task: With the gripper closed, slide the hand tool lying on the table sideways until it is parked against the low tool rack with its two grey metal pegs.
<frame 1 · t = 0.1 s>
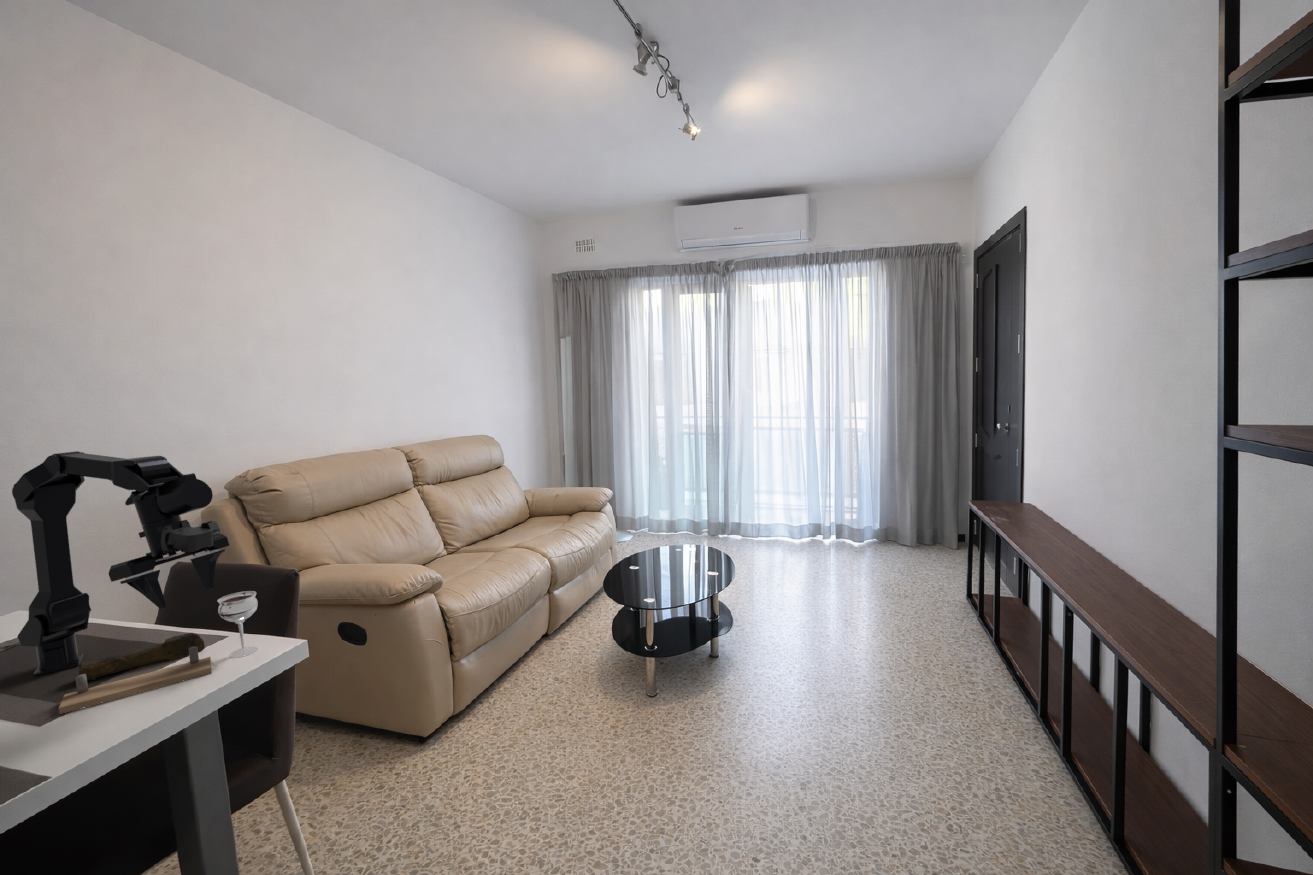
hand: (187, 598, 111), 15 cm above the table, tool pointing down, fingers open, 9 cm apart
tool rack: (141, 686, 109), on the table
wineglass: (243, 652, 122), on the table
hand tool: (146, 666, 119), on the table
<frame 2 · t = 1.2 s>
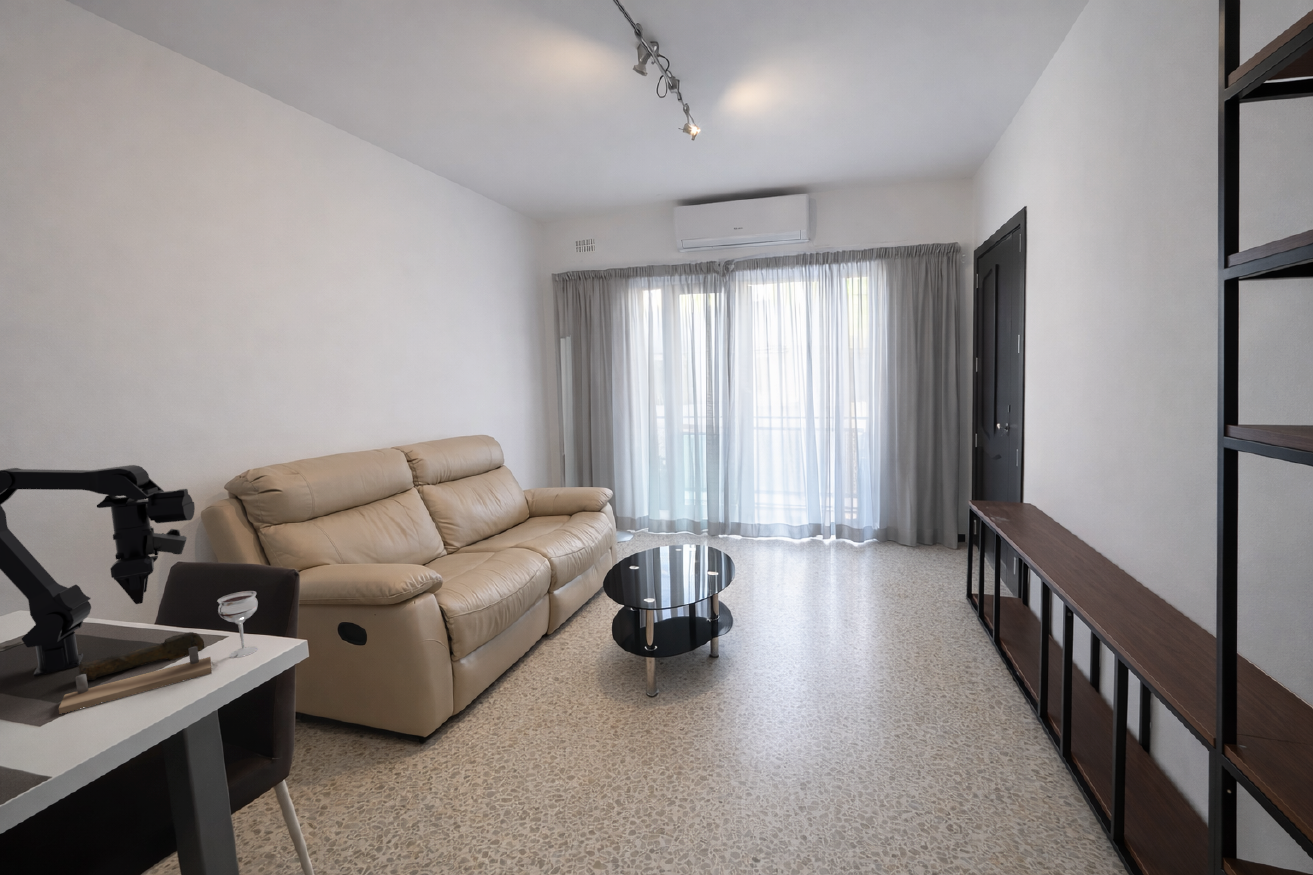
hand: (141, 597, 123), 12 cm above the table, tool pointing down, fingers open, 8 cm apart
nothing on the table moved.
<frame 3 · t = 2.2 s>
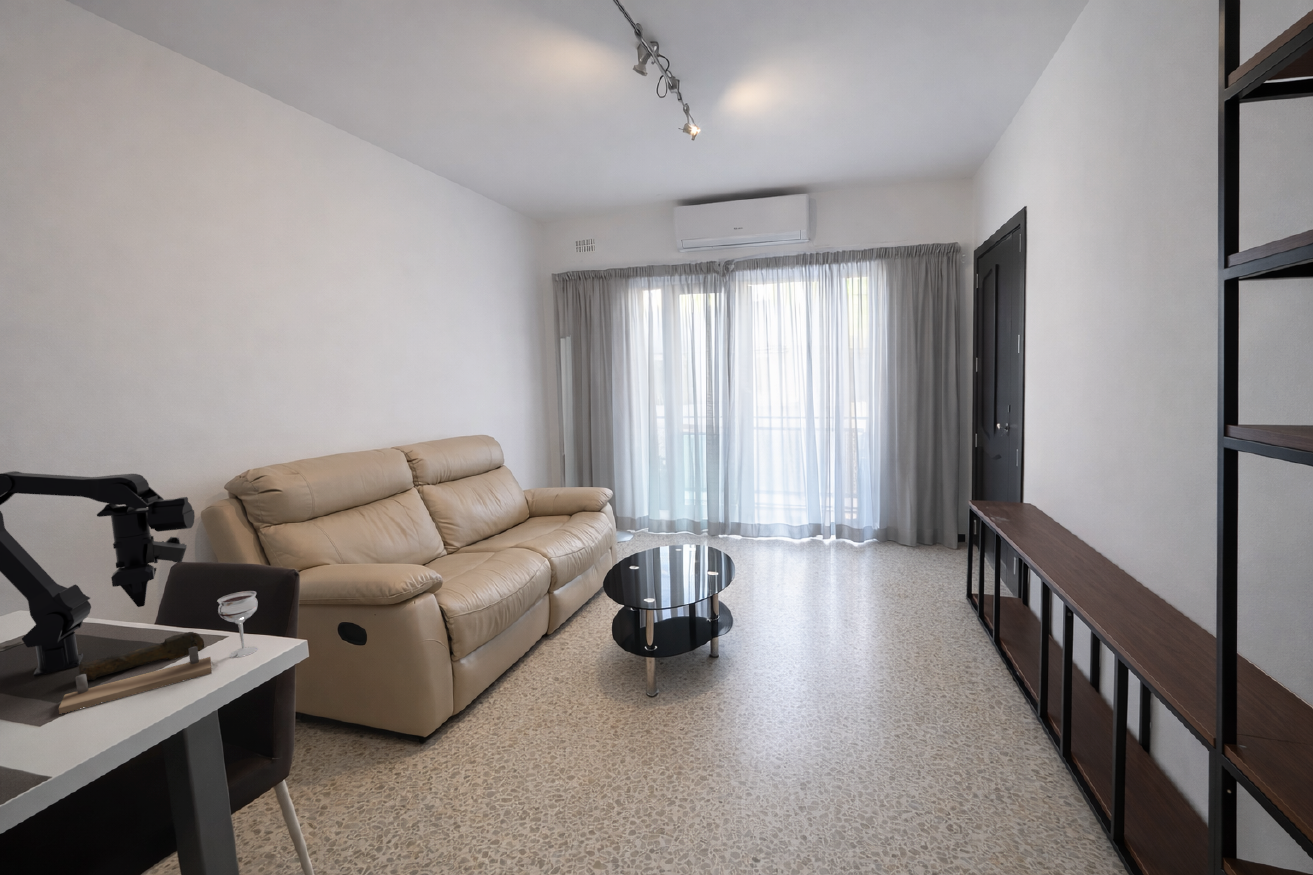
hand: (141, 606, 124), 10 cm above the table, tool pointing down, fingers closed
nothing on the table moved.
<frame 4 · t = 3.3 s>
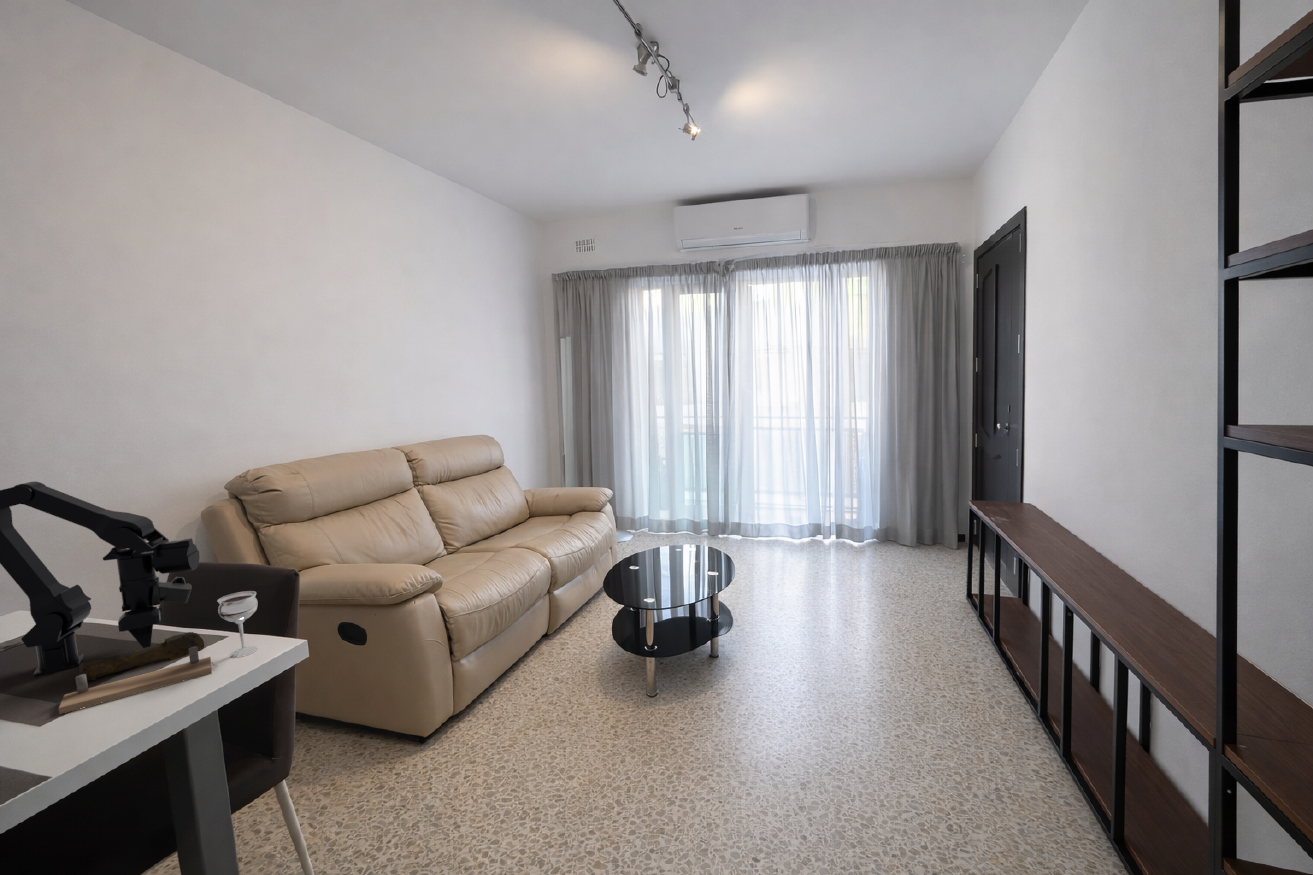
hand: (147, 647, 124), 1 cm above the table, tool pointing down, fingers closed
nothing on the table moved.
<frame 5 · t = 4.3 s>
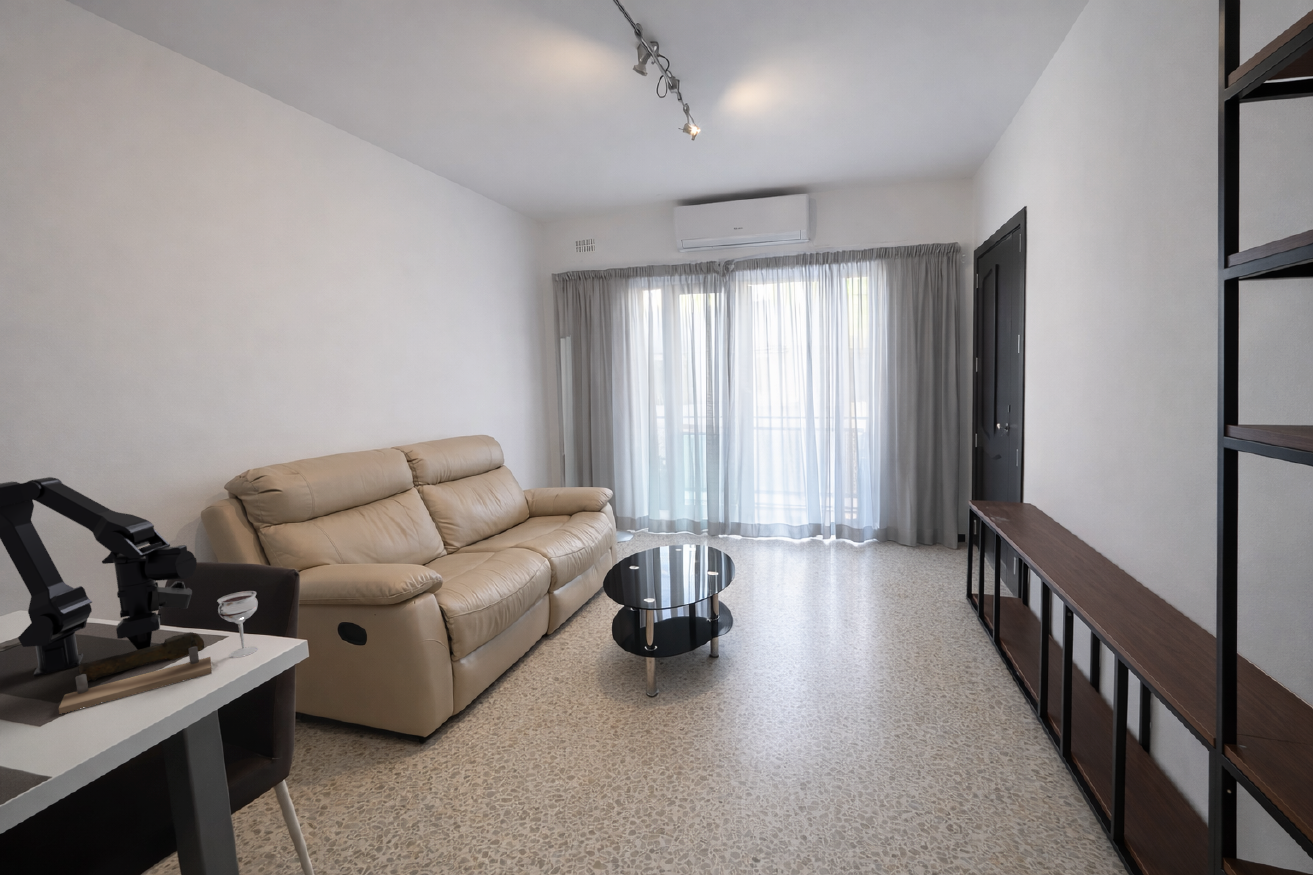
hand: (146, 654, 121), 1 cm above the table, tool pointing down, fingers closed
hand tool: (145, 666, 119), on the table, touching gripper
everything else where it was.
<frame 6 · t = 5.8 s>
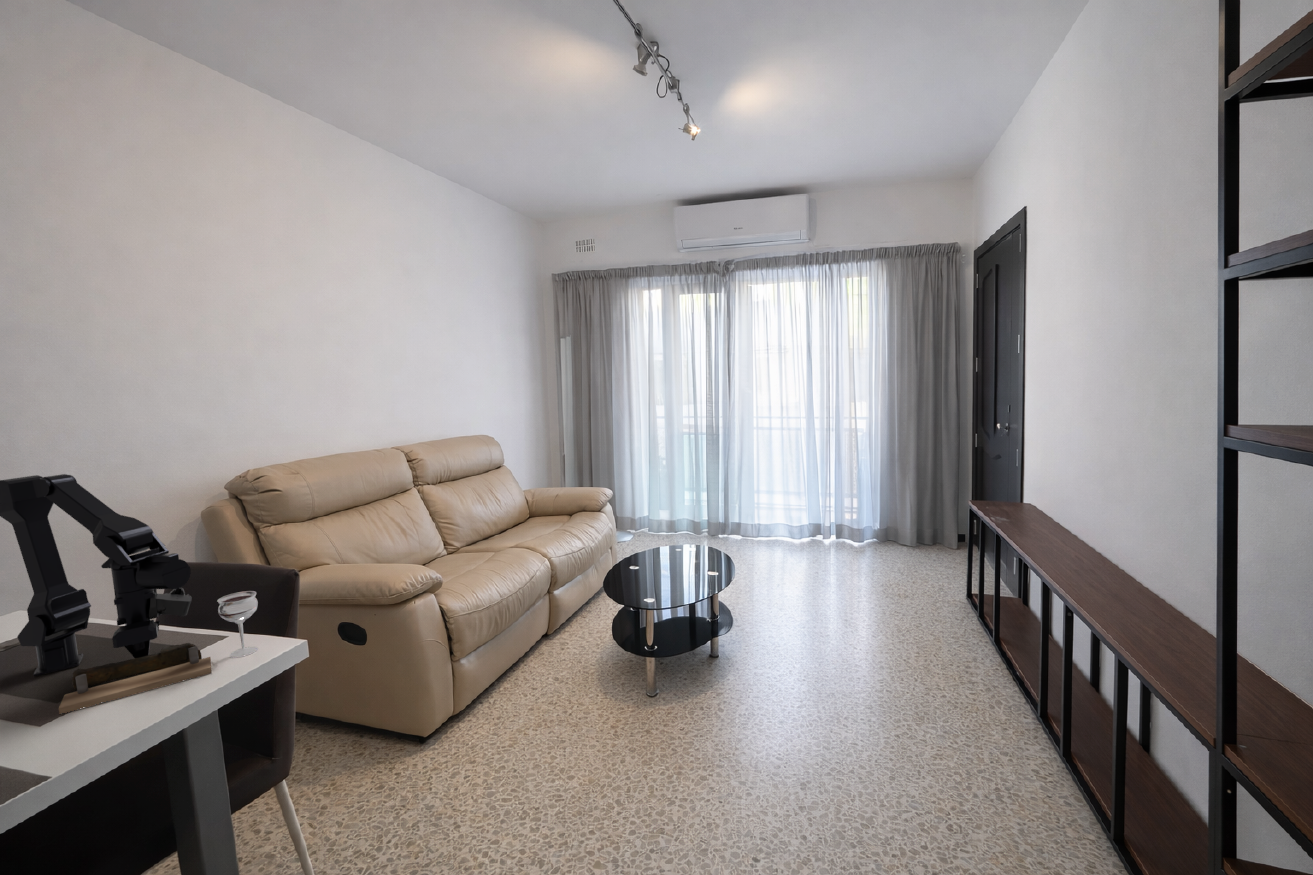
hand: (144, 663, 117), 1 cm above the table, tool pointing down, fingers closed
hand tool: (141, 675, 115), on the table
everything else where it was.
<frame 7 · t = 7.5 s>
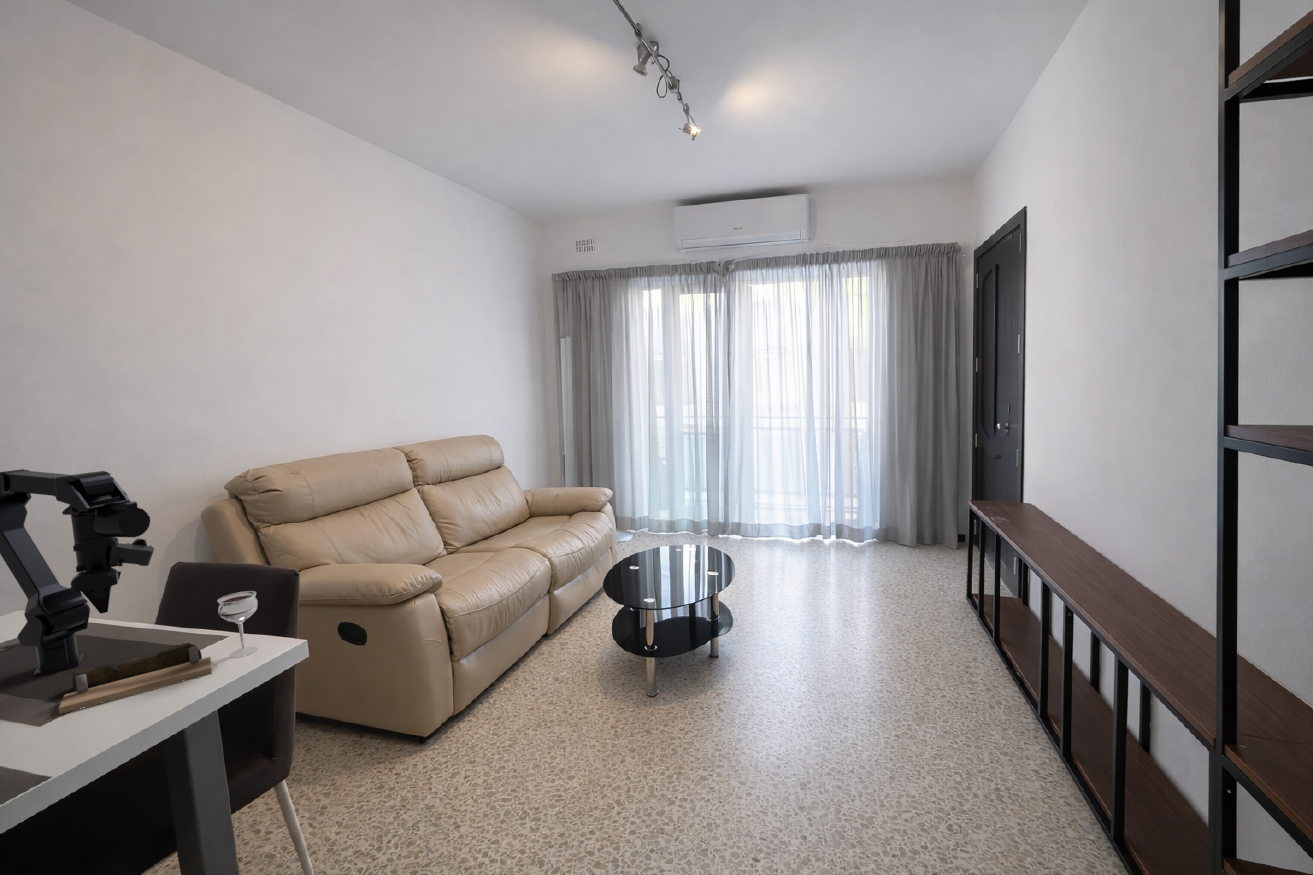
hand: (104, 612, 116), 12 cm above the table, tool pointing down, fingers closed
nothing on the table moved.
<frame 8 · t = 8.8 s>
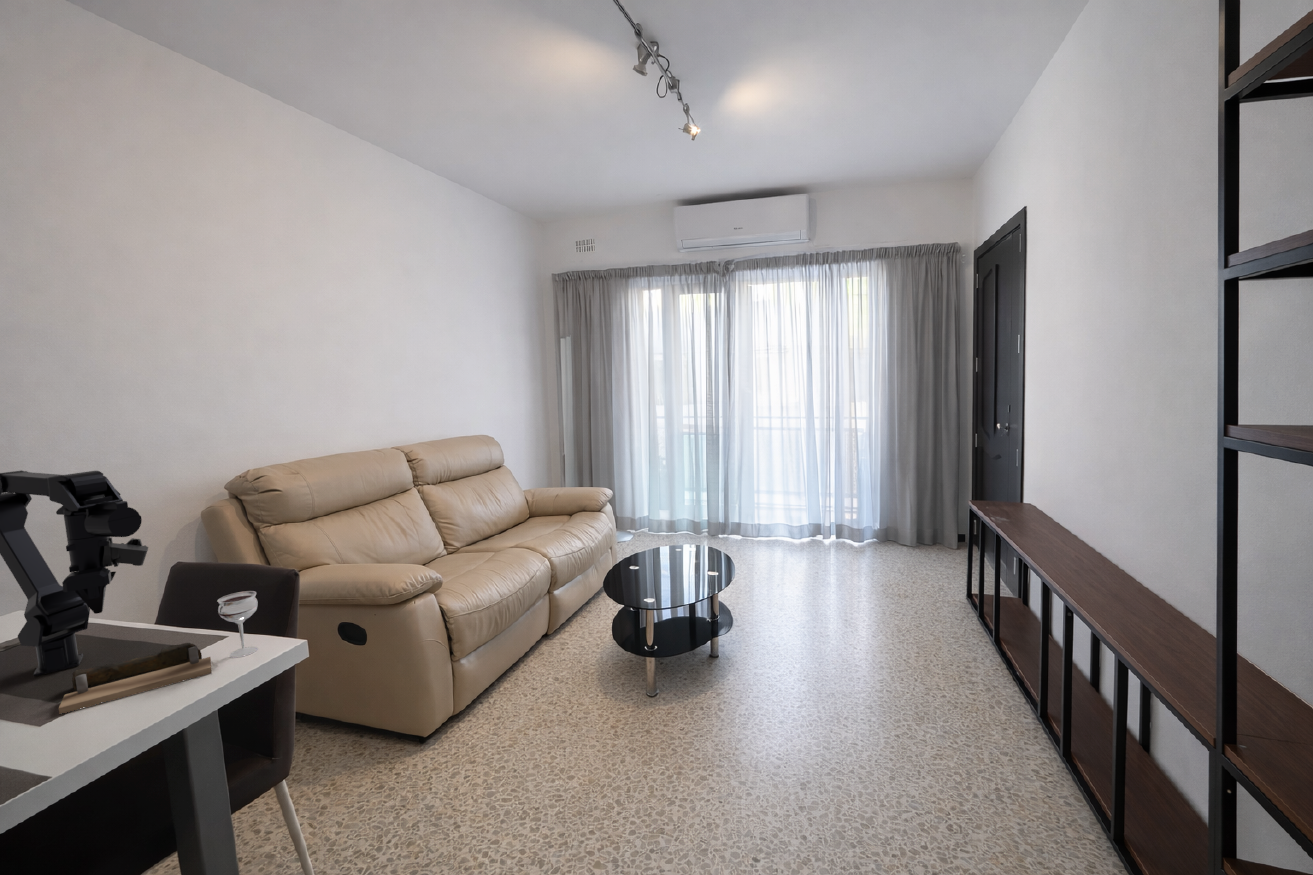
hand: (98, 612, 115), 12 cm above the table, tool pointing down, fingers closed
nothing on the table moved.
at the end: hand tool inside the target area (0.9 cm from its centre), on the table; hand tool moved 5.1 cm from its start; the gripper is holding nothing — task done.
